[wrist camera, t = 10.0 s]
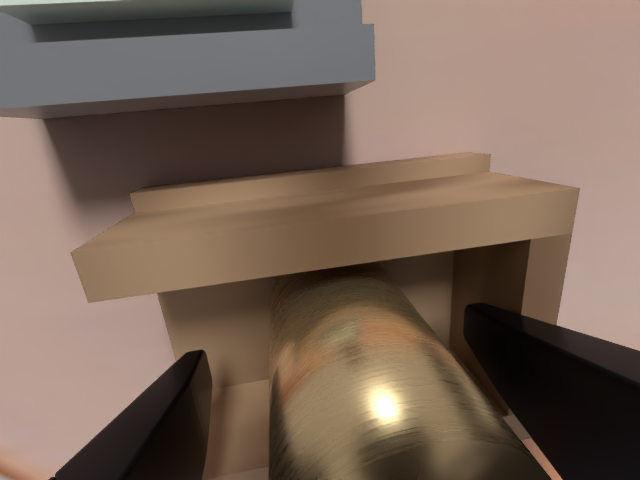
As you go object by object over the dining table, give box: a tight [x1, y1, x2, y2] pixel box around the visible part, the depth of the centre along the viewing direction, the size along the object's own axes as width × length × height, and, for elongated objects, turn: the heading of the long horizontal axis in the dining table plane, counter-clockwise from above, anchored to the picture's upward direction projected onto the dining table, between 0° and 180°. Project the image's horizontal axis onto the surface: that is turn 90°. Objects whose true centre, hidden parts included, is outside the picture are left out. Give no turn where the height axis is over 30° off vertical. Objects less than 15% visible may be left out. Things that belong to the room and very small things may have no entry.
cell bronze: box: [269, 261, 551, 480], centre depth 7 cm, size 4×4×7 cm
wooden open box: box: [70, 152, 580, 480], centre depth 9 cm, size 10×8×4 cm
